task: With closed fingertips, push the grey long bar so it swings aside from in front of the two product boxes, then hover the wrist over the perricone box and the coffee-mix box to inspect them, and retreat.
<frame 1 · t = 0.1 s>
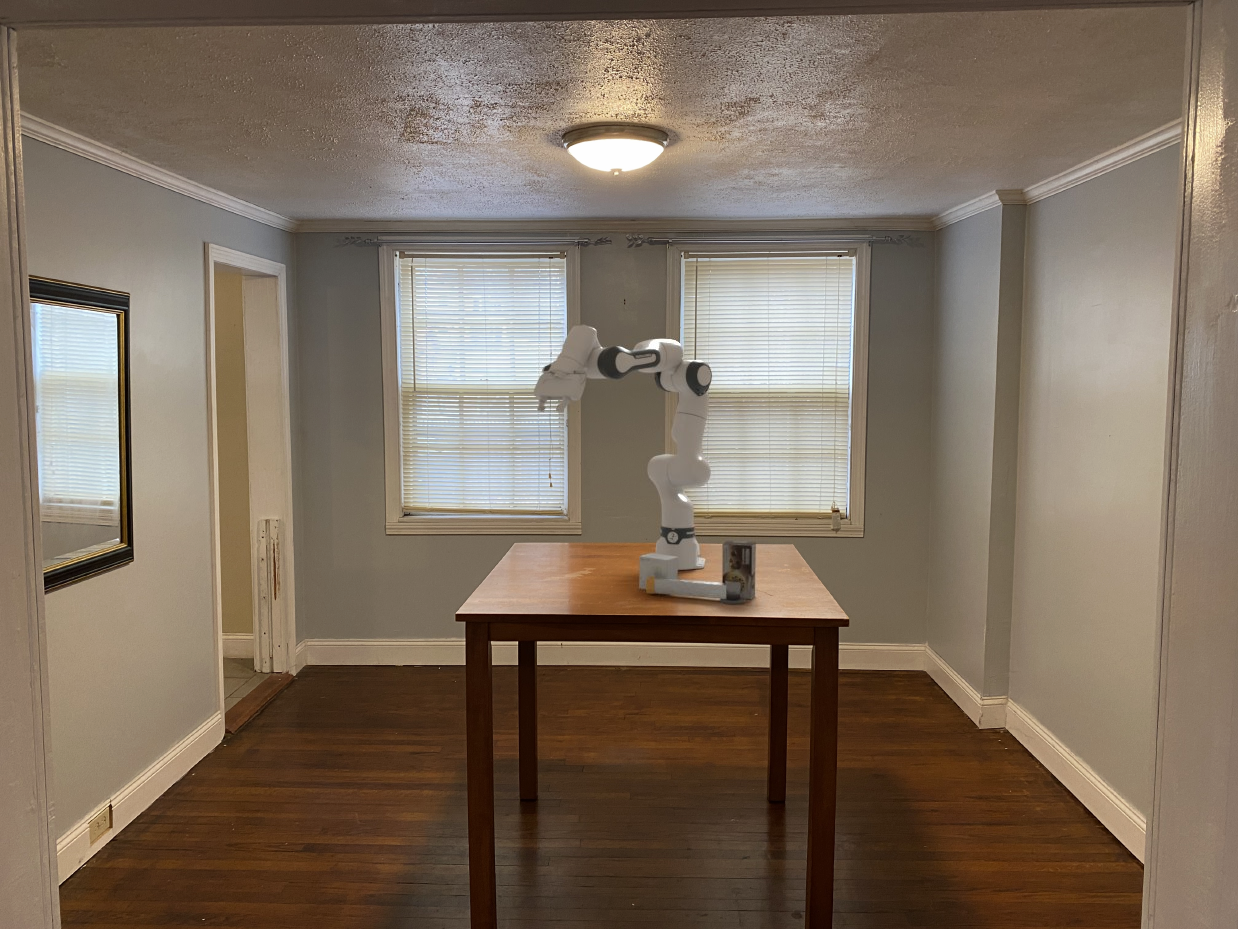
hand: (549, 411, 269), 54 cm above the table, tool tilted 30°, fingers open, 8 cm apart
grey long bar: (693, 587, 261), point 3 cm above the table, hinge at 0.0°
coffee box: (738, 597, 264), on the table
hinge base: (732, 601, 257), on the table
skincare box: (658, 590, 273), on the table
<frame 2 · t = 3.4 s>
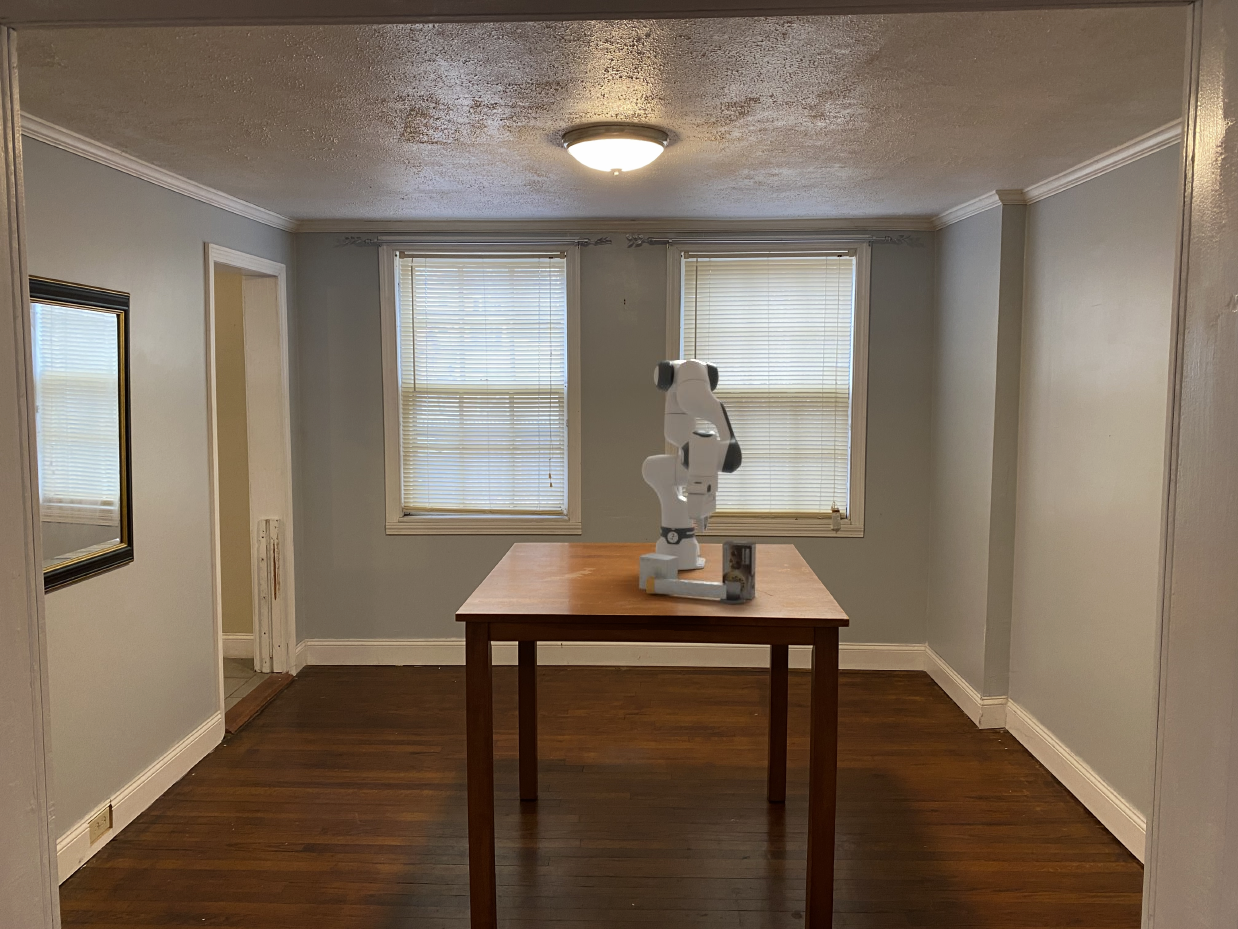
hand: (702, 531, 265), 19 cm above the table, tool pointing down, fingers open, 3 cm apart
nothing on the table moved.
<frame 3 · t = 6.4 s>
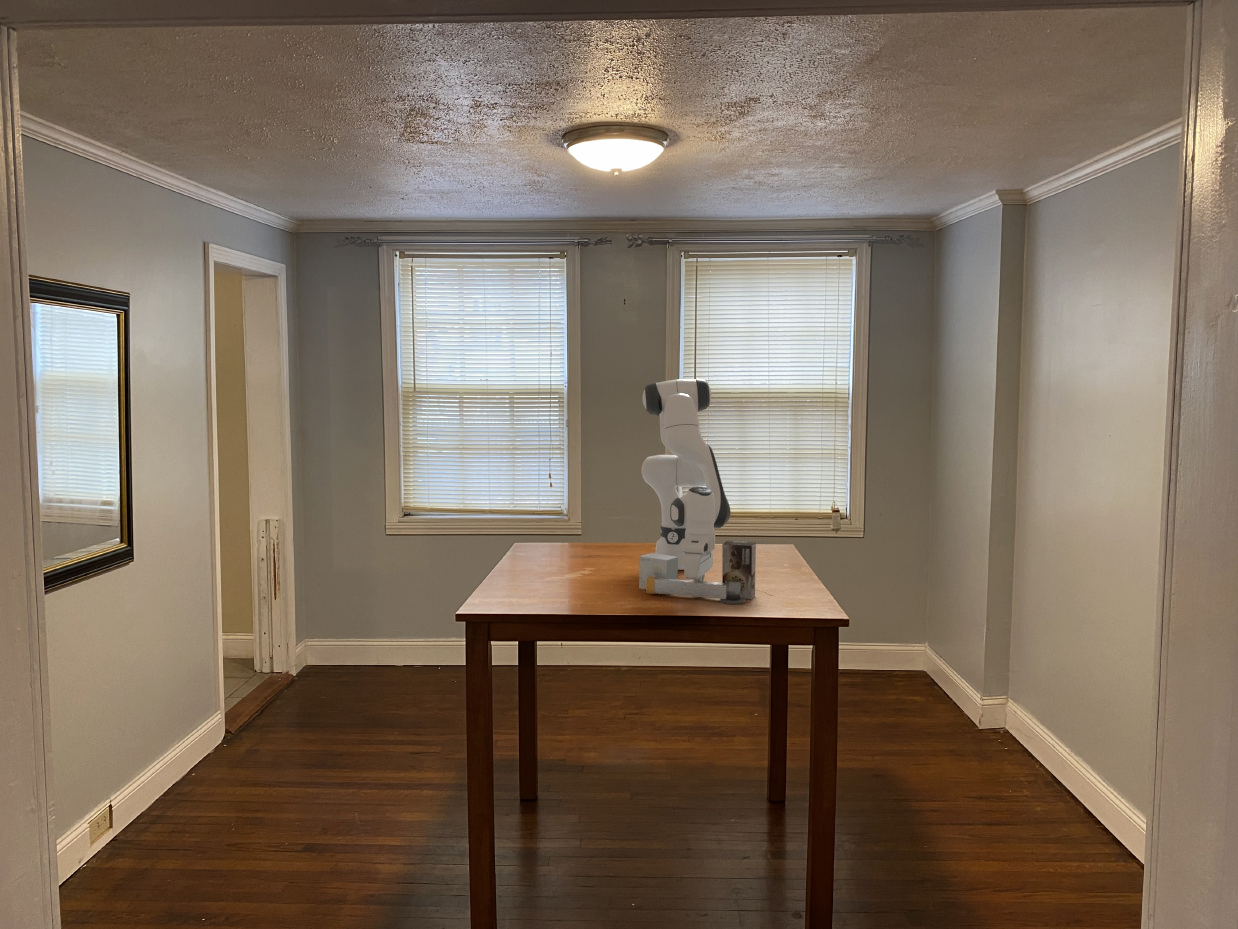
hand: (699, 588, 263), 2 cm above the table, tool pointing down, fingers closed
grey long bar: (693, 587, 260), point 3 cm above the table, hinge at 0.1°, touching gripper
everything else where it was.
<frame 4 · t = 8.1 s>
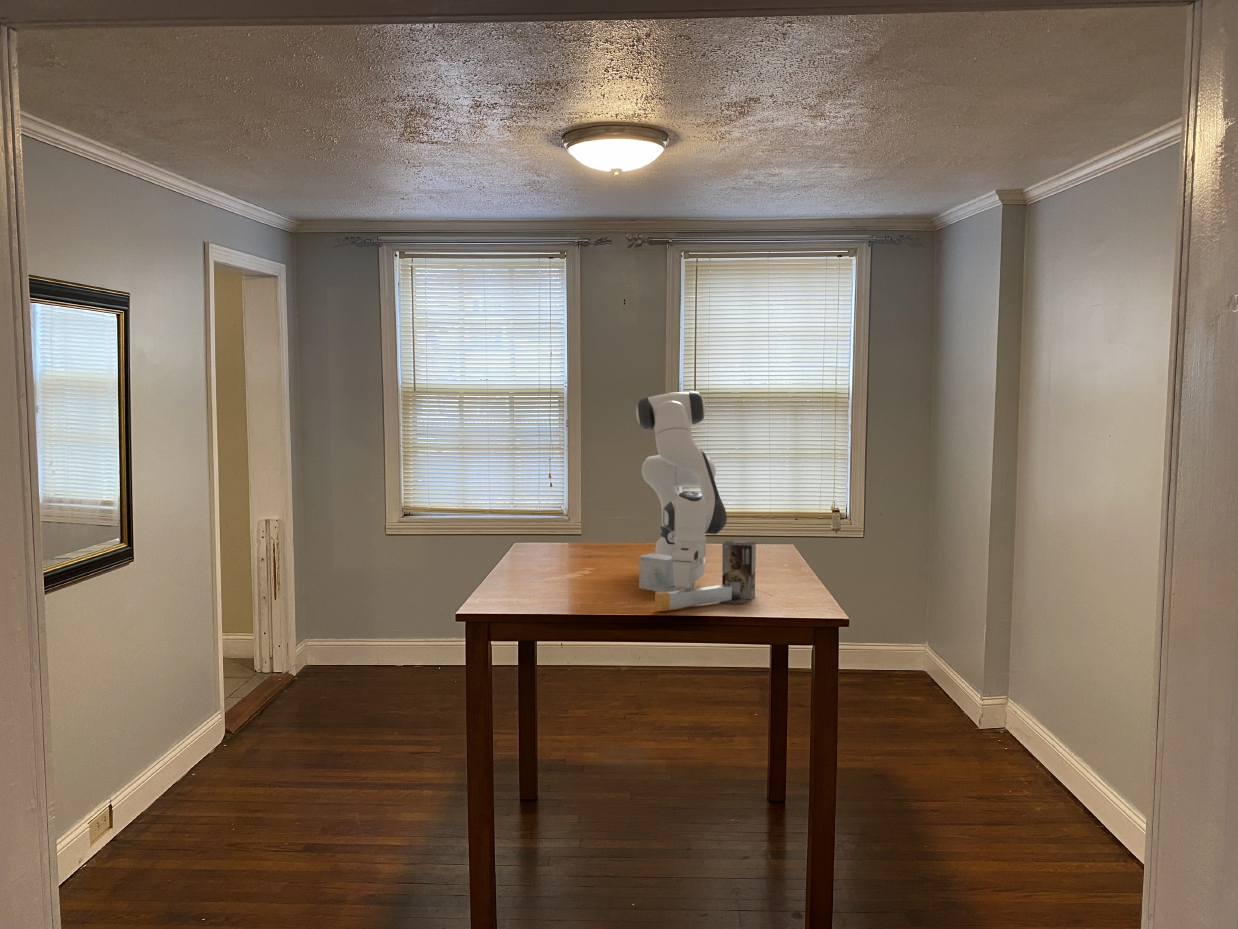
hand: (689, 597, 253), 2 cm above the table, tool pointing down, fingers closed
grey long bar: (699, 594, 250), point 3 cm above the table, hinge at 51.1°, touching gripper
everything else where it was.
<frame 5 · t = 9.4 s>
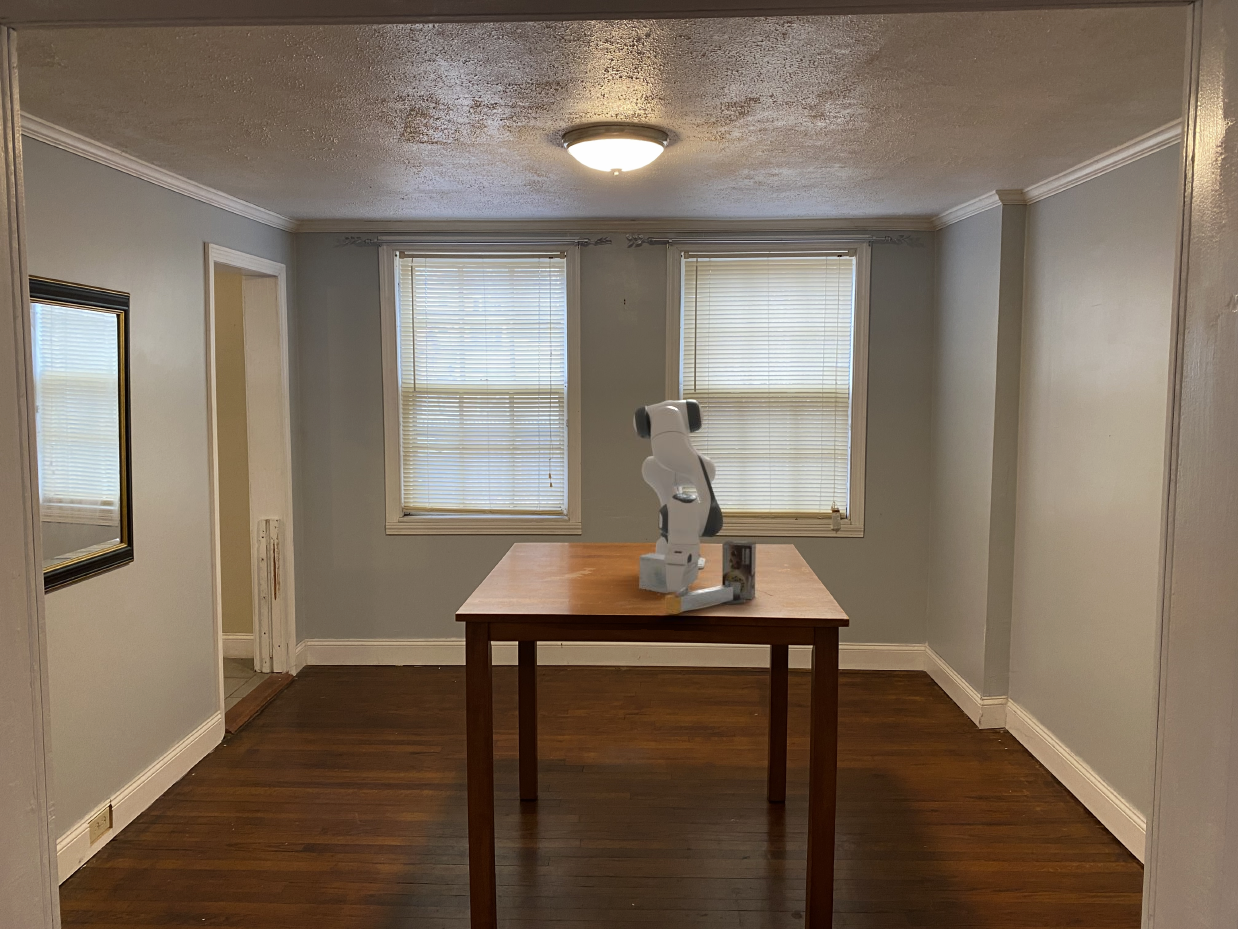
hand: (682, 601, 247), 2 cm above the table, tool pointing down, fingers closed
grey long bar: (705, 596, 249), point 3 cm above the table, hinge at 61.8°, touching gripper
everything else where it was.
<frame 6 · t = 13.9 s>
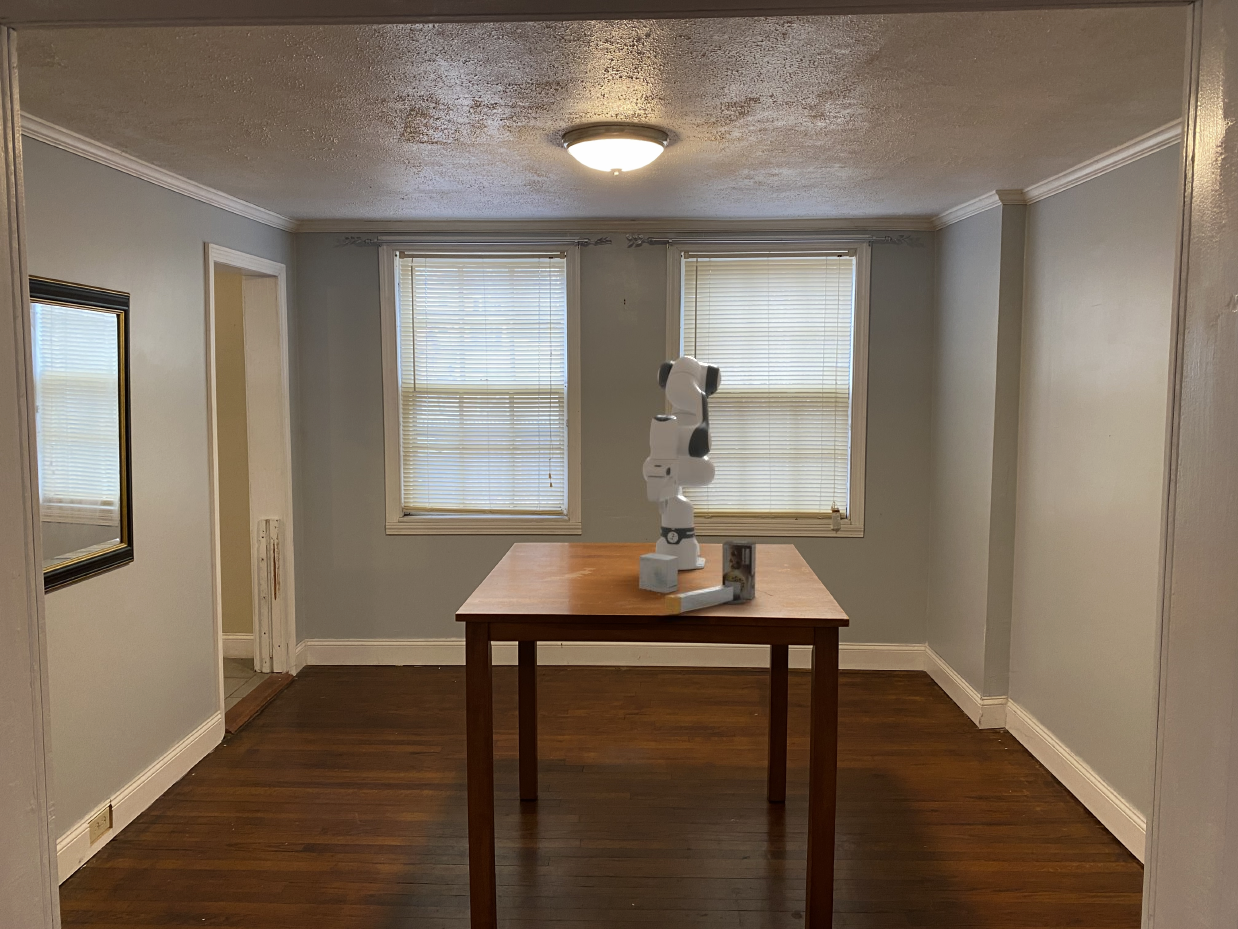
hand: (663, 513, 271), 23 cm above the table, tool pointing down, fingers closed
grey long bar: (705, 596, 249), point 3 cm above the table, hinge at 61.9°
everything else where it was.
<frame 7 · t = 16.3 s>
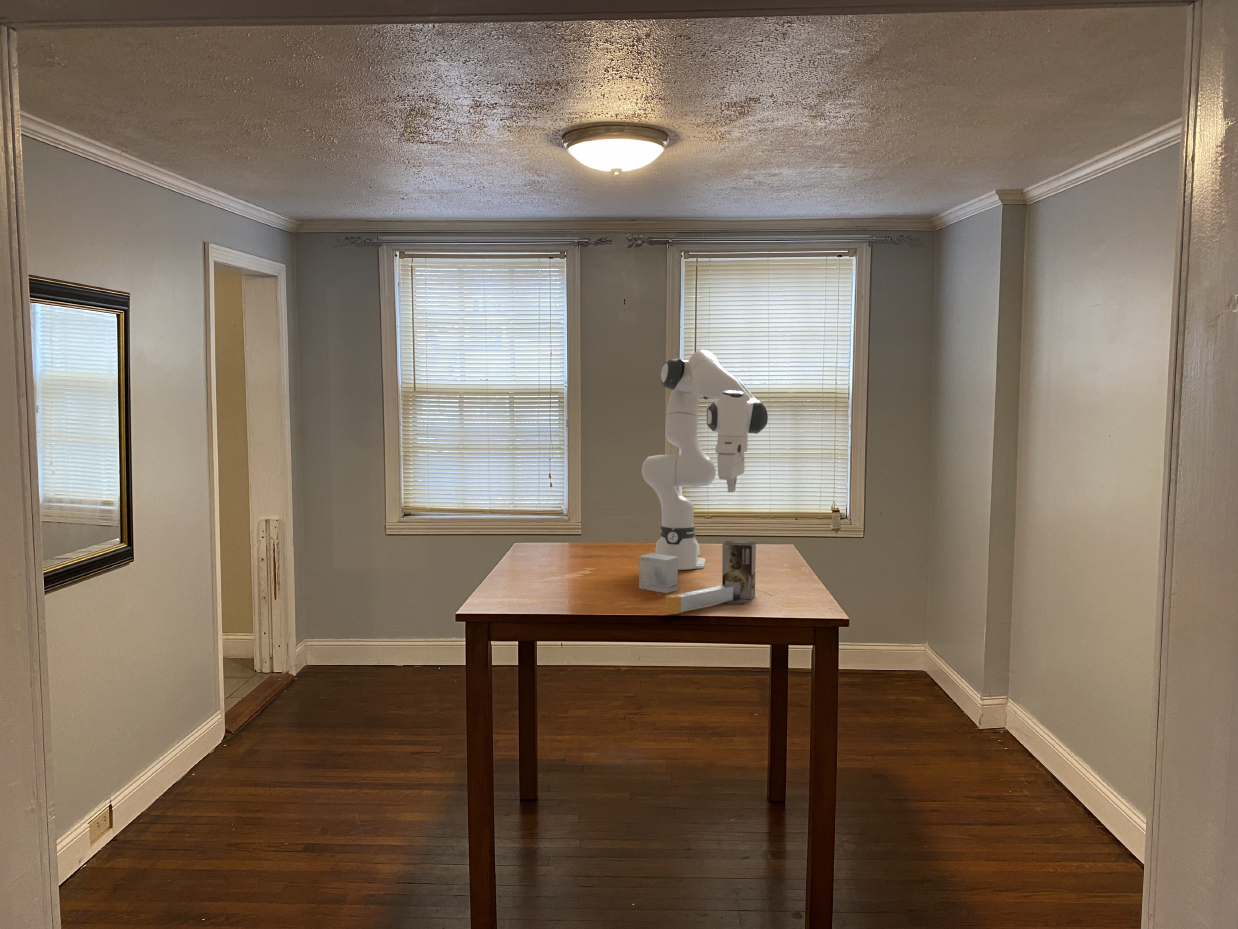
hand: (731, 491, 264), 31 cm above the table, tool pointing down, fingers closed
nothing on the table moved.
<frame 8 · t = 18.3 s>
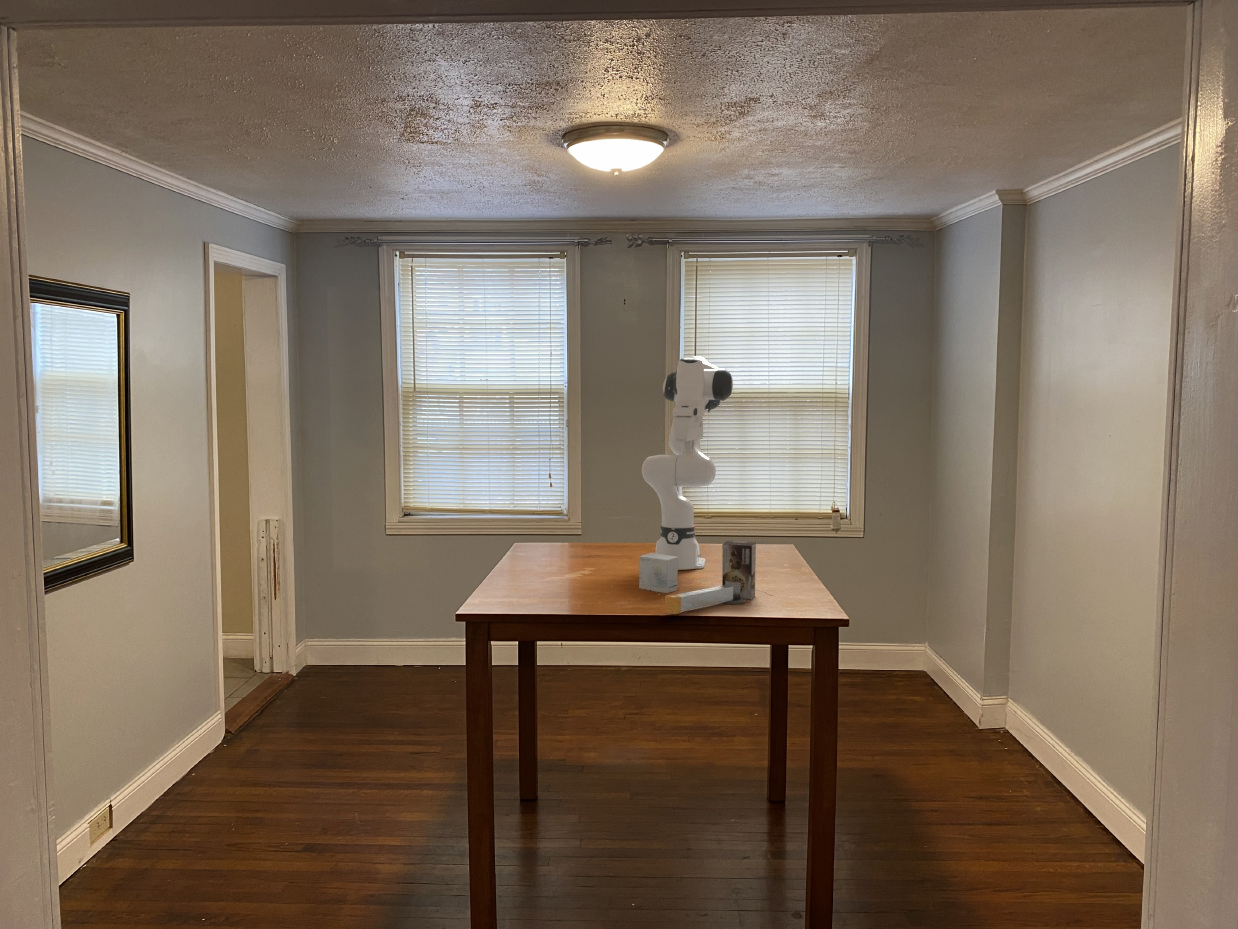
hand: (689, 455, 275), 41 cm above the table, tool pointing down, fingers closed
nothing on the table moved.
at the end: grey long bar at +62° (first picture: +0°); coffee box moved 0.2 cm from its start; skincare box moved 0.3 cm from its start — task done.
